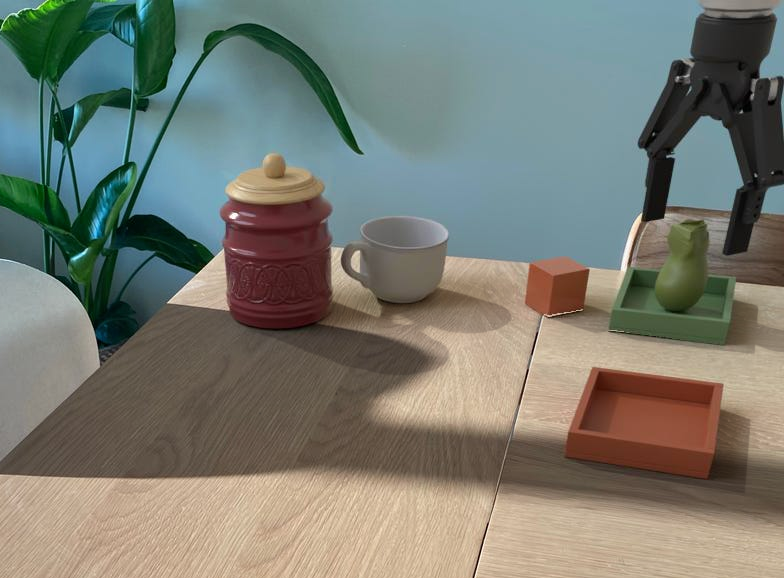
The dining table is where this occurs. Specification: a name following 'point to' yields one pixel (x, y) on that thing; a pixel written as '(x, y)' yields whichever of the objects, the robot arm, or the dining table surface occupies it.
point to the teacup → (399, 257)
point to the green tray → (648, 317)
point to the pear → (684, 266)
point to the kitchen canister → (277, 246)
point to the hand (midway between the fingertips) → (691, 235)
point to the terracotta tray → (646, 422)
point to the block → (556, 285)
